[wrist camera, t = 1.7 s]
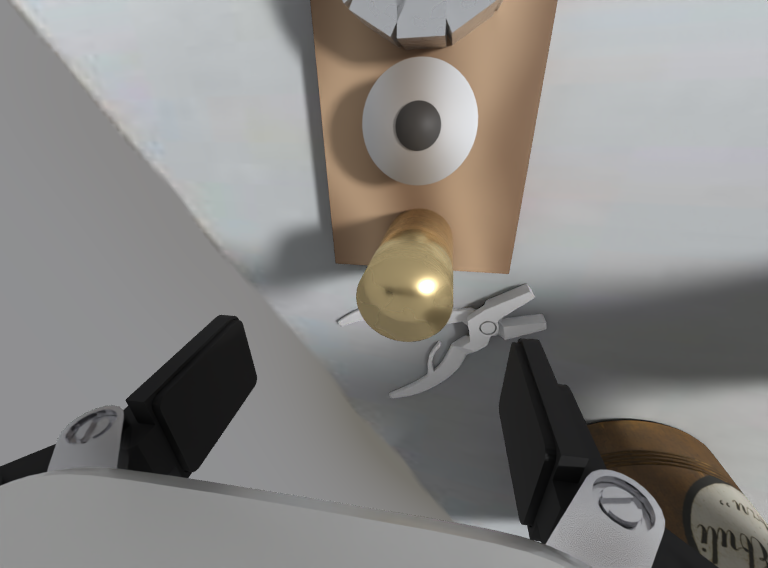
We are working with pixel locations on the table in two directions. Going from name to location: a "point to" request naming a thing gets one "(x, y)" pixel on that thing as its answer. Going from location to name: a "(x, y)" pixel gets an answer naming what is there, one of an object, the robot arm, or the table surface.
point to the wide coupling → (422, 19)
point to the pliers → (472, 334)
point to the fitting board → (430, 129)
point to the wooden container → (687, 490)
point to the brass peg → (410, 278)
